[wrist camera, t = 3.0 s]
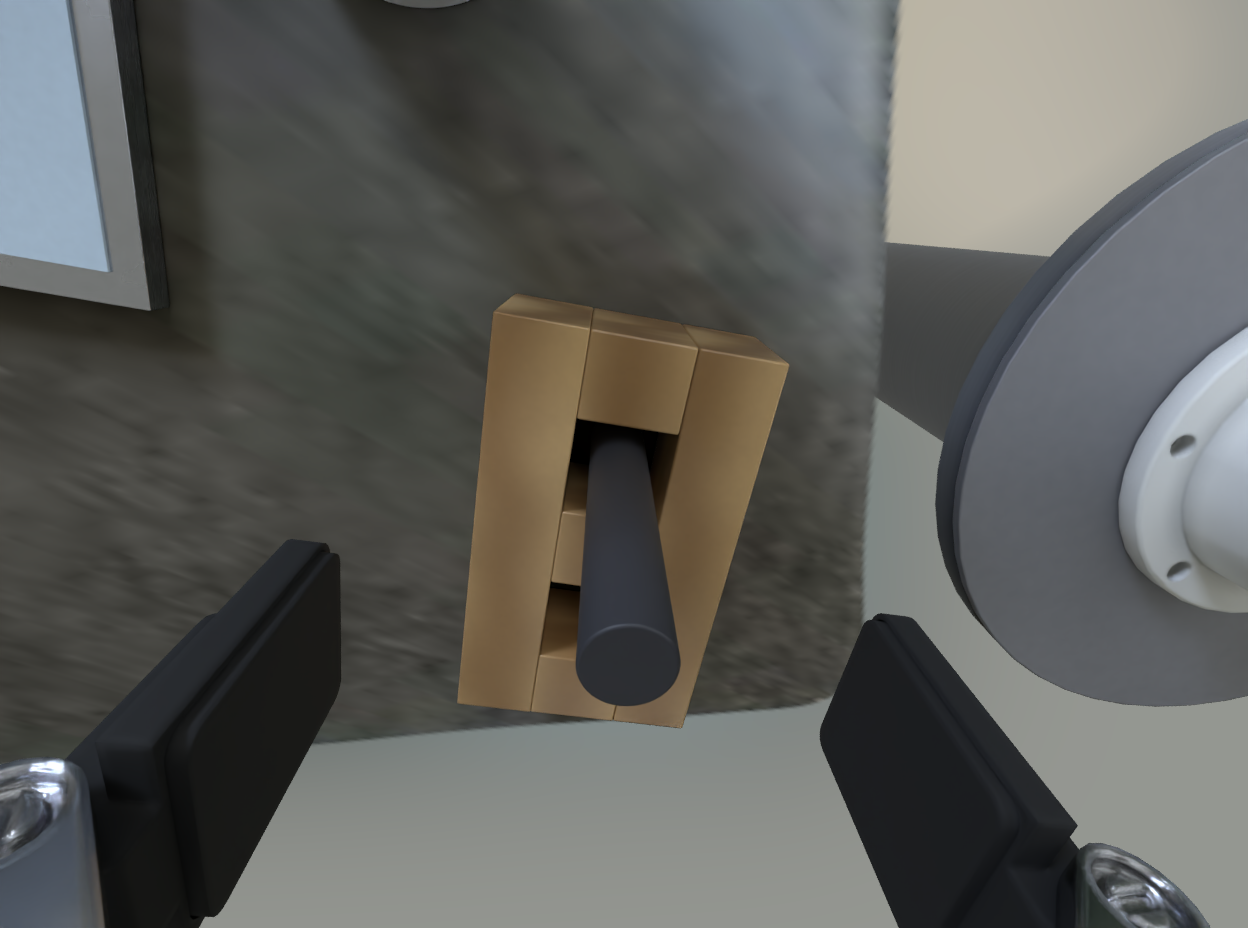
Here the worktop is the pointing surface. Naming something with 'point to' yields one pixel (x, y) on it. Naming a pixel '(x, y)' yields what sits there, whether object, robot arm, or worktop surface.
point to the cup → (427, 3)
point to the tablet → (77, 155)
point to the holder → (557, 489)
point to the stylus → (623, 578)
